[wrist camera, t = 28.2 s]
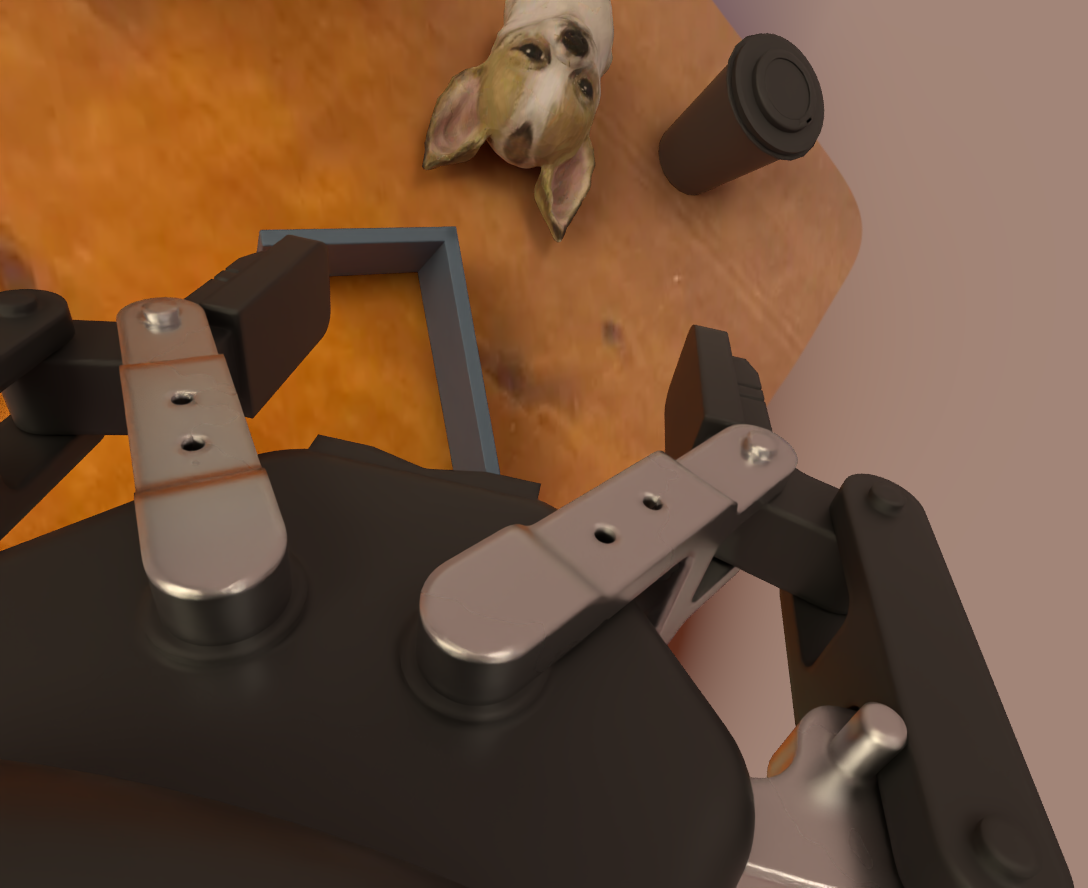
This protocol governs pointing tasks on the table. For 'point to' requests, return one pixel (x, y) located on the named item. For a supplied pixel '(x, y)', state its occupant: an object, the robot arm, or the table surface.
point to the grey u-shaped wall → (445, 317)
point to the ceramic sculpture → (532, 101)
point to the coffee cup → (745, 117)
